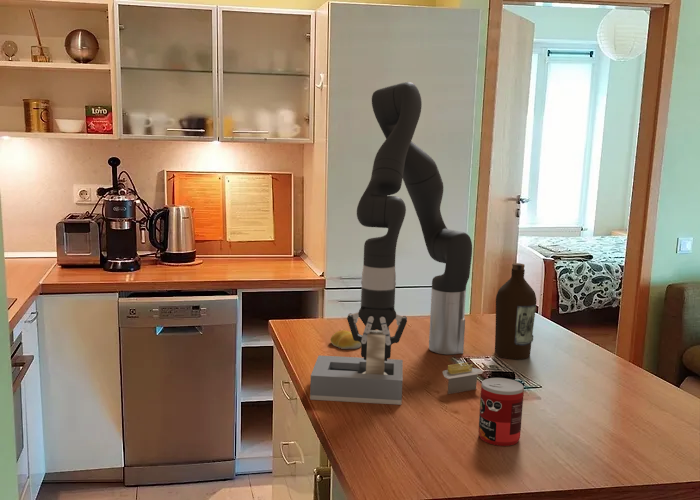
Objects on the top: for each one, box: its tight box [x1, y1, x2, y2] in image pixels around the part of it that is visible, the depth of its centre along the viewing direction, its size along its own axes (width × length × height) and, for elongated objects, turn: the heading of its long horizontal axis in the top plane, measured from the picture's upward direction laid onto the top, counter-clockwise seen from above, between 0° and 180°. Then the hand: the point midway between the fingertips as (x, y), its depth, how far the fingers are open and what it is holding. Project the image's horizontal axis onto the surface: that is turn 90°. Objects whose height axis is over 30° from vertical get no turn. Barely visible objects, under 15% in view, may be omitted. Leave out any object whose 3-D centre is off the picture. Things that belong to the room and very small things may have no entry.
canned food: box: [478, 377, 525, 447], centre depth 131 cm, size 8×8×11 cm
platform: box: [442, 361, 484, 395], centre depth 156 cm, size 12×18×7 cm, turn 117°
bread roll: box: [330, 329, 361, 350], centre depth 188 cm, size 8×9×4 cm
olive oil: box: [494, 262, 537, 360], centre depth 182 cm, size 11×11×25 cm
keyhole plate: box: [309, 355, 404, 406], centre depth 154 cm, size 20×14×6 cm
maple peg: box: [362, 330, 388, 375], centre depth 153 cm, size 6×6×12 cm
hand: (375, 359), depth 153 cm, fingers closed on maple peg, 4 cm apart
